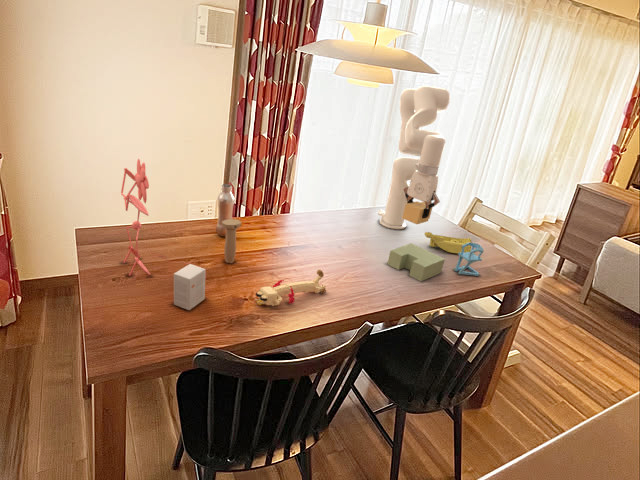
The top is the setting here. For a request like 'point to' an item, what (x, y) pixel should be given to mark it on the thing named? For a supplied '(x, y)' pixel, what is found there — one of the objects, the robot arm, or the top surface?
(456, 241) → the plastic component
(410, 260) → the notch pad
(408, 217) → the tan rectangular block
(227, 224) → the handle
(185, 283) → the small box
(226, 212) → the plastic bottle
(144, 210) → the figurine
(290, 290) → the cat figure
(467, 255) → the chair
